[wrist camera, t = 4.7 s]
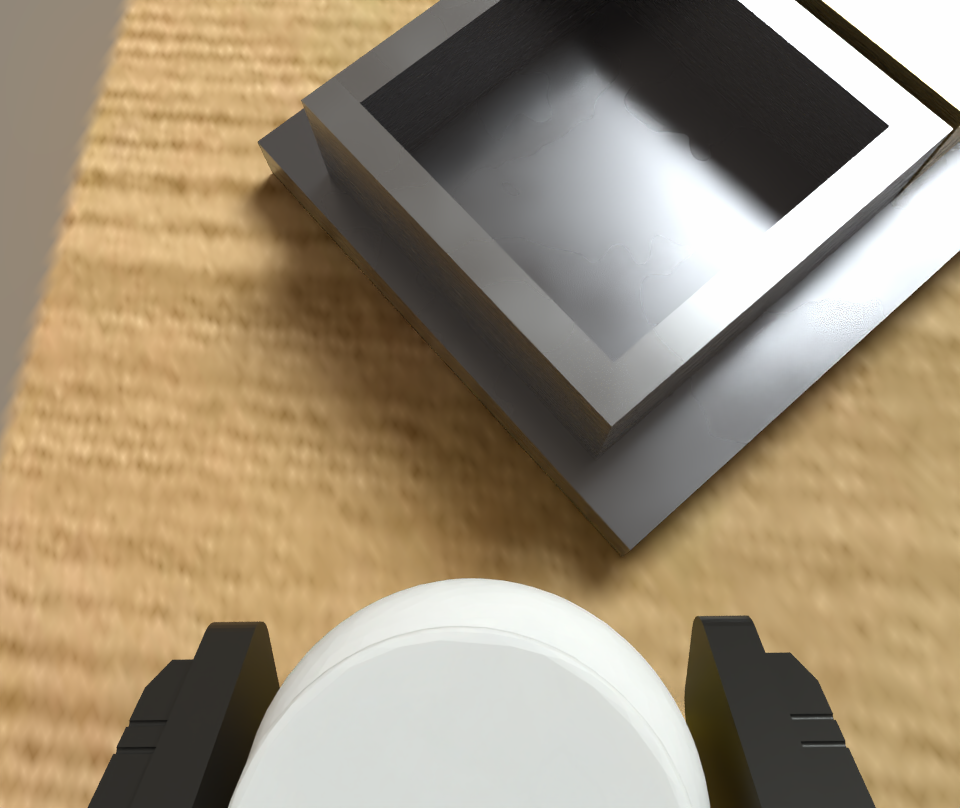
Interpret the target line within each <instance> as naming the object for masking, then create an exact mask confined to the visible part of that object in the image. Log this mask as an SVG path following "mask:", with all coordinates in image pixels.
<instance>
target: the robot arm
mask: <svg viewBox="0 0 960 808" xmlns="http://www.w3.org/2000/svg"><path fill="white" fill-rule="evenodd" d="M279 689H280V687H279V682H278V677H277V672H276V667H275V662H274V658H273V653H272V648H271V643H270V638H269V633H268V629H267V626H266V624H265V623H264V622H213V623H211V624H210V625H209V626H208V628H207V629H206V632H205V634H204V636H203V638H202V641H201V643H200V645H199V648H198V650H197V652H196V655H195V657H194V659H193V660H172V661H171V662H170V663H169V664H168V665H167V666H166V667H165V668H164V669H163V670H162V671H161V672H160V673H159V674H158V675H157V676H156V677H155V678H154V679H153V680H152V681H151V682H150V683H149V684H148V685H147V686H146V687H145V689H144V691H143V693H142V695H141V697H140V699H139V701H138V703H137V705H136V708H135V710H134V712H133V714H132V716H131V718H130V720H129V721H130V724H129V727H126V728H125V731H124V733H123V735H122V737H121V739H120V741H119V743H118V745H117V752H116V754H113V756H112V758H111V760H110V762H109V764H108V766H107V768H106V770H105V772H104V775H103V777H102V779H101V781H100V783H99V785H98V787H97V789H96V791H95V793H94V796H93V798H92V800H91V802H90V804H89V806H88V808H228V806H229V803H230V801H231V798H232V796H233V793H234V791H235V788H236V786H237V783H238V781H239V779H240V776H241V774H242V772H243V769H244V767H245V765H246V762H247V759H248V756H249V753H250V750H251V747H252V745H253V742H254V739H255V736H256V733H257V731H258V729H259V726H260V724H261V722H262V720H263V717H264V715H265V713H266V711H267V709H268V707H269V706H270V704H271V702H272V701H273V699H274V697H275V695H276V694H277V692H278V690H279ZM685 717H686V724H687V726H688V728H689V731H690V733H691V735H692V738H693V740H694V743H695V746H696V749H697V751H698V754H699V758H700V762H701V765H702V769H703V772H704V776H705V780H706V785H707V791H708V796H709V802H710V808H876V807H875V805H874V803H873V801H872V798H871V796H870V794H869V792H868V790H867V787H866V785H865V783H864V781H863V779H862V776H861V774H860V772H859V770H858V768H857V765H856V763H855V761H854V759H853V757H852V755H851V752H850V750H849V748H846V745H845V739H844V737H843V735H842V733H841V730H840V728H839V726H838V724H837V722H836V720H834V719H833V713H832V711H831V708H830V706H829V704H828V702H827V700H826V697H825V695H824V693H823V691H822V689H821V686H820V684H819V682H818V680H817V679H816V678H815V677H814V676H813V675H812V674H811V673H810V672H809V671H808V670H807V669H806V668H805V667H804V666H803V665H802V664H801V663H800V662H799V661H798V660H797V659H796V658H795V657H794V656H793V655H792V654H791V653H765V651H764V648H763V646H762V643H761V641H760V638H759V635H758V633H757V630H756V628H755V625H754V623H753V621H752V620H751V618H750V617H749V616H697V617H695V619H694V622H693V627H692V635H691V644H690V652H689V660H688V669H687V677H686V685H685Z"/></svg>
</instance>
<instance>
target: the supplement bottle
mask: <svg viewBox="0 0 960 808" xmlns="http://www.w3.org/2000/svg"><path fill="white" fill-rule="evenodd" d="M228 808H710V802H709V796H708V791H707V785H706V780H705V776H704V772H703V769H702V765H701V762H700V758H699V754H698V751H697V749H696V746H695V743H694V740H693V738H692V735H691V733H690V731H689V728H688V726H687V724H686V722H685V720H684V718H683V716H682V714H681V712H680V710H679V708H678V706H677V704H676V702H675V701H674V699H673V697H672V696H671V694H670V693H669V691H668V690H667V688H666V687H665V685H664V683H663V682H662V681H661V679H660V678H659V676H658V675H657V674H656V672H655V671H654V670H653V668H652V667H651V666H650V665H649V664H648V663H647V661H646V660H645V659H644V658H643V657H642V656H641V655H640V653H639V652H638V651H637V650H636V649H635V648H634V647H633V646H632V645H631V644H630V643H629V642H628V641H627V640H625V639H624V638H623V637H622V636H621V635H619V634H618V633H617V632H616V631H615V630H613V629H612V628H611V627H610V626H609V625H607V624H606V623H604V622H603V621H602V620H600V619H599V618H597V617H596V616H594V615H593V614H591V613H589V612H588V611H586V610H585V609H583V608H581V607H579V606H577V605H576V604H574V603H572V602H570V601H568V600H566V599H564V598H561V597H559V596H557V595H555V594H552V593H549V592H546V591H543V590H540V589H537V588H534V587H531V586H527V585H523V584H519V583H514V582H508V581H503V580H493V579H477V578H466V579H450V580H443V581H438V582H432V583H427V584H422V585H418V586H415V587H412V588H408V589H405V590H402V591H399V592H396V593H394V594H392V595H389V596H387V597H384V598H382V599H380V600H378V601H376V602H374V603H372V604H370V605H368V606H366V607H365V608H363V609H361V610H359V611H358V612H356V613H355V614H353V615H352V616H350V617H349V618H347V619H346V620H344V621H343V622H341V623H340V624H339V625H337V626H336V627H335V628H333V629H332V630H331V631H330V632H328V633H327V634H326V635H325V636H324V637H323V638H322V639H321V640H320V641H318V642H317V643H316V644H315V645H314V646H313V647H312V648H311V649H310V650H309V651H308V652H307V653H306V655H305V656H304V657H303V658H302V659H301V661H300V662H299V663H298V664H297V666H296V667H295V668H294V669H293V671H292V672H291V673H290V674H289V675H288V677H287V678H286V680H285V681H284V683H283V684H282V686H281V687H280V689H279V690H278V692H277V694H276V695H275V697H274V699H273V701H272V702H271V704H270V706H269V707H268V709H267V711H266V713H265V715H264V717H263V720H262V722H261V724H260V726H259V729H258V731H257V733H256V736H255V739H254V742H253V745H252V747H251V750H250V753H249V756H248V759H247V762H246V765H245V767H244V769H243V772H242V774H241V776H240V779H239V781H238V783H237V786H236V788H235V791H234V793H233V796H232V798H231V801H230V803H229V806H228Z"/></svg>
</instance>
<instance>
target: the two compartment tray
mask: <svg viewBox="0 0 960 808" xmlns="http://www.w3.org/2000/svg"><path fill="white" fill-rule="evenodd" d="M301 101H302V104H303V106H304V109H302V110H301V111H299V112H298V113H297V114H295V115H294V116H293V117H291V118H290V119H288V120H287V121H286V122H284V123H283V124H281V125H280V126H279V127H277V128H276V129H275V130H273V131H272V132H270V133H269V134H268V135H266V136H265V137H263V138H262V139H261V140H259V141H258V144H259V146H260V148H261V150H262V152H263V155H264V157H265V159H266V161H267V163H268V165H269V167H270V169H271V171H272V172H273V174H274V175H275V176H276V177H277V178H278V179H279V180H280V181H281V182H282V183H283V185H284V186H285V187H286V188H287V189H288V190H289V191H290V192H291V193H292V194H293V196H294V197H295V198H296V199H297V200H298V201H299V202H300V203H301V204H302V205H303V207H304V208H305V209H306V210H307V211H308V212H309V213H310V214H311V215H312V216H313V218H314V219H315V220H316V221H317V222H318V223H319V224H320V225H321V226H322V228H323V229H324V230H325V231H326V232H327V233H328V234H329V235H330V236H331V237H332V239H333V240H334V241H335V242H336V243H337V244H338V245H339V246H340V247H341V248H342V250H343V251H344V252H345V253H346V254H347V255H348V256H349V257H350V258H351V259H352V261H353V262H354V263H355V264H356V265H357V266H358V267H359V268H360V269H361V270H362V272H363V273H364V274H365V275H366V276H367V277H368V278H369V279H370V280H371V281H372V283H373V284H374V285H375V286H376V287H377V288H378V289H379V290H380V291H381V292H382V294H383V295H384V296H385V297H386V298H387V299H388V300H389V301H390V302H391V303H392V305H393V306H394V307H395V308H396V309H397V310H398V311H399V312H400V313H401V314H402V316H403V317H404V318H405V319H406V320H407V321H408V322H409V323H410V324H411V325H412V327H413V328H414V329H415V330H416V331H417V332H418V333H419V334H420V335H421V336H422V338H423V339H424V340H425V341H426V342H427V343H428V344H429V345H430V346H431V347H432V349H433V350H434V351H435V352H436V353H437V354H438V355H439V356H440V357H441V358H442V360H443V361H444V362H445V363H446V364H447V365H448V366H449V367H450V368H451V369H452V371H453V372H454V373H455V374H456V375H457V376H458V377H459V378H460V379H461V380H462V382H463V383H464V384H465V385H466V386H467V387H468V388H469V389H470V390H471V391H472V393H473V394H474V395H475V396H476V397H477V398H478V399H479V400H480V401H481V402H482V404H483V405H484V406H485V407H486V408H487V409H488V410H489V411H490V412H491V413H492V415H493V416H494V417H495V418H496V419H497V420H498V421H499V422H500V423H501V424H502V426H503V427H504V428H505V429H506V430H507V431H508V432H509V433H510V434H511V435H512V437H513V438H514V439H515V440H516V441H517V442H518V443H519V444H520V445H521V447H522V448H523V449H524V450H525V451H526V452H527V453H528V454H529V455H530V456H531V458H532V459H533V460H534V461H535V462H536V463H537V464H538V465H539V466H540V467H541V469H542V470H543V471H544V472H545V473H546V474H547V475H548V476H549V477H550V478H551V480H552V481H553V482H554V483H555V484H556V485H557V486H558V487H559V488H560V489H561V491H562V492H563V493H564V494H565V495H566V496H567V497H568V498H569V499H570V500H571V502H572V503H573V504H574V505H575V506H576V507H577V508H578V509H579V510H580V511H581V513H582V514H583V515H584V516H585V517H586V518H587V519H588V520H589V521H590V522H591V524H592V525H593V526H594V527H595V528H596V529H597V530H598V531H599V532H600V533H601V535H602V536H603V537H604V538H605V539H606V540H607V541H608V542H609V543H610V544H611V546H612V547H613V548H614V549H615V550H616V551H617V552H618V553H619V554H620V555H621V557H623V556H624V555H625V554H626V553H627V552H629V551H630V550H631V549H632V548H633V547H634V546H635V545H637V544H638V543H639V542H640V541H641V540H642V539H643V538H644V537H645V536H646V535H648V534H649V533H650V532H651V531H652V530H653V529H654V528H655V527H656V526H657V525H659V524H660V523H661V522H662V521H663V520H664V519H665V518H666V517H667V516H668V515H670V514H671V513H672V512H673V511H674V510H675V509H676V508H677V507H678V506H679V505H680V504H682V503H683V502H684V501H685V500H686V499H687V498H688V497H689V496H690V495H691V494H693V493H694V492H695V491H696V490H697V489H698V488H699V487H700V486H701V485H702V484H704V483H705V482H706V481H707V480H708V479H709V478H710V477H711V476H712V475H713V474H715V473H716V472H717V471H718V470H719V469H720V468H721V467H722V466H723V465H724V464H726V463H727V462H728V461H729V460H730V459H731V458H732V457H733V456H734V455H735V454H737V453H738V452H739V451H740V450H741V449H742V448H743V447H744V446H745V445H746V444H748V443H749V442H750V441H751V440H752V439H753V438H754V437H755V436H756V435H757V434H758V433H760V432H761V431H762V430H763V429H764V428H765V427H766V426H767V425H768V424H769V423H771V422H772V421H773V420H774V419H775V418H776V417H777V416H778V415H779V414H780V413H782V412H783V411H784V410H785V409H786V408H787V407H788V406H789V405H790V404H791V403H793V402H794V401H795V400H796V399H797V398H798V397H799V396H800V395H801V394H802V393H804V392H805V391H806V390H807V389H808V388H809V387H810V386H811V385H812V384H813V383H815V382H816V381H817V380H818V379H819V378H820V377H821V376H822V375H823V374H824V373H826V372H827V371H828V370H829V369H830V368H831V367H832V366H833V365H834V364H835V363H836V362H838V361H839V360H840V359H841V358H842V357H843V356H844V355H845V354H846V353H847V352H849V351H850V350H851V349H852V348H853V347H854V346H855V345H856V344H857V343H858V342H860V341H861V340H862V339H863V338H864V337H865V336H866V335H867V334H868V333H869V332H871V331H872V330H873V329H874V328H875V327H876V326H877V325H878V324H879V323H880V322H882V321H883V320H884V319H885V318H886V317H887V316H888V315H889V314H890V313H891V312H893V311H894V310H895V309H896V308H897V307H898V306H899V305H900V304H901V303H902V302H904V301H905V300H906V299H907V298H908V297H909V296H910V295H911V294H912V293H913V292H914V291H916V290H917V289H918V288H919V287H920V286H921V285H922V284H923V283H924V282H925V281H927V280H928V279H929V278H930V277H931V276H932V275H933V274H934V273H935V272H936V271H938V270H939V269H940V268H941V267H942V266H943V265H944V264H945V263H946V262H947V261H949V260H950V259H951V258H952V257H953V256H954V255H955V254H956V253H957V252H958V251H960V0H440V1H439V2H437V3H436V4H435V5H433V6H432V7H430V8H429V9H428V10H426V11H425V12H423V13H422V14H421V15H419V16H418V17H416V18H415V19H414V20H412V21H411V22H410V23H408V24H407V25H405V26H404V27H403V28H401V29H400V30H398V31H397V32H396V33H394V34H393V35H391V36H390V37H389V38H387V39H386V40H384V41H383V42H382V43H380V44H379V45H378V46H376V47H375V48H373V49H372V50H371V51H369V52H368V53H366V54H365V55H364V56H362V57H361V58H359V59H358V60H357V61H355V62H354V63H352V64H351V65H350V66H348V67H347V68H346V69H344V70H343V71H341V72H340V73H339V74H337V75H336V76H334V77H333V78H332V79H330V80H329V81H327V82H326V83H325V84H323V85H322V86H320V87H319V88H318V89H316V90H315V91H314V92H312V93H311V94H309V95H308V96H307V97H305V98H304V99H302V100H301Z"/></svg>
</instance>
